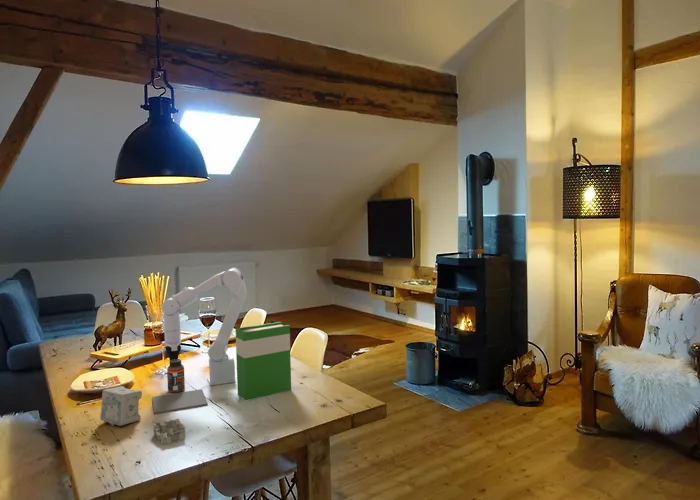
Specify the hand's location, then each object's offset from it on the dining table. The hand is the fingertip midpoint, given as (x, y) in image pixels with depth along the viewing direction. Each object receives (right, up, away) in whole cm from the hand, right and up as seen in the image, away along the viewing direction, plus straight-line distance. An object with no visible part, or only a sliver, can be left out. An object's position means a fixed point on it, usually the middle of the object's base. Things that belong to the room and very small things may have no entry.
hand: (173, 364), depth 190 cm
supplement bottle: (+3, -8, -7) cm, 11 cm away
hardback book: (+36, -8, -10) cm, 38 cm away
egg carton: (+14, -11, -44) cm, 47 cm away
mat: (+8, -9, -18) cm, 21 cm away
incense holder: (-5, -11, -33) cm, 35 cm away
